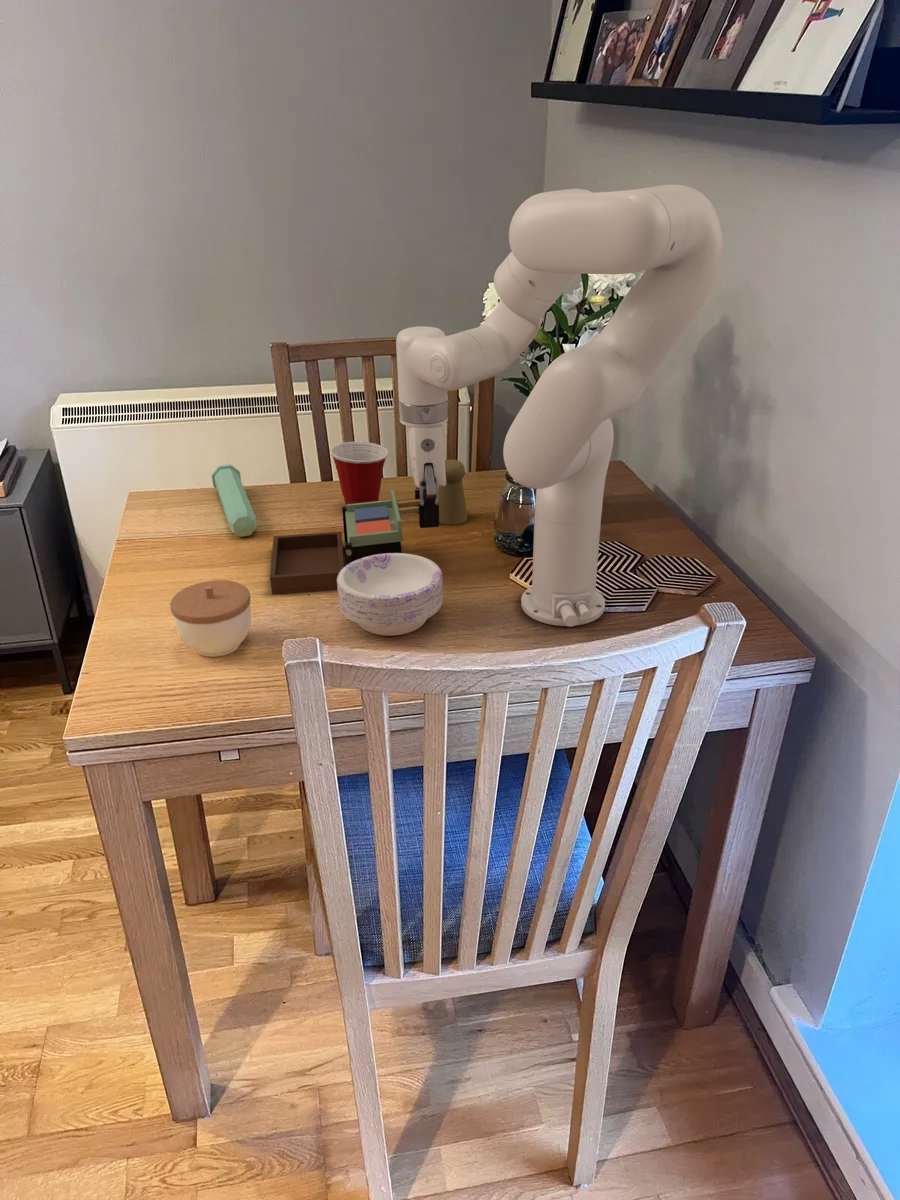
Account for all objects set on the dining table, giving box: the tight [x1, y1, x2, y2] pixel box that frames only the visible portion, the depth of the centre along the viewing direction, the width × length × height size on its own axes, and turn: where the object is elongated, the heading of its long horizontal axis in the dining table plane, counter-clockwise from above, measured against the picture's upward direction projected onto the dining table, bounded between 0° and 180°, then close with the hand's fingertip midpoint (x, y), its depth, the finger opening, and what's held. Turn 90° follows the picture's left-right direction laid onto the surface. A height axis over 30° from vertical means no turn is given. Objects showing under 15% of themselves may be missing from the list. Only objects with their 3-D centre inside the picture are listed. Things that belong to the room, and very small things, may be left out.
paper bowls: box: [337, 552, 444, 637], centre depth 127 cm, size 15×15×8 cm
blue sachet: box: [354, 506, 389, 523], centre depth 144 cm, size 5×6×1 cm
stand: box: [341, 506, 402, 565], centre depth 144 cm, size 17×9×8 cm, turn 8°
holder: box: [269, 531, 345, 595], centre depth 143 cm, size 16×12×3 cm
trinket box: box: [169, 579, 252, 658], centre depth 121 cm, size 11×11×9 cm
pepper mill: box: [437, 459, 468, 526], centre depth 159 cm, size 6×6×11 cm
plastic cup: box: [329, 441, 390, 506], centre depth 163 cm, size 11×11×12 cm
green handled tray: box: [345, 489, 420, 547], centre depth 142 cm, size 13×14×4 cm
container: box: [211, 463, 258, 538], centre depth 164 cm, size 6×6×25 cm
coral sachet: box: [356, 519, 392, 535], centre depth 139 cm, size 5×6×1 cm
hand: (427, 518), depth 143 cm, fingers closed on green handled tray, 5 cm apart
